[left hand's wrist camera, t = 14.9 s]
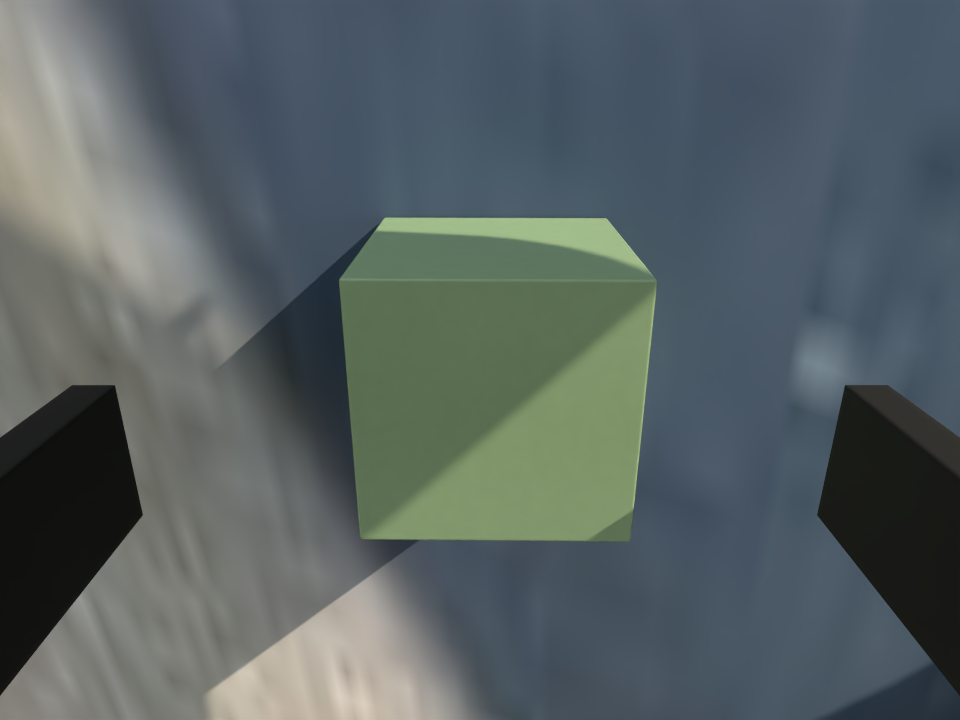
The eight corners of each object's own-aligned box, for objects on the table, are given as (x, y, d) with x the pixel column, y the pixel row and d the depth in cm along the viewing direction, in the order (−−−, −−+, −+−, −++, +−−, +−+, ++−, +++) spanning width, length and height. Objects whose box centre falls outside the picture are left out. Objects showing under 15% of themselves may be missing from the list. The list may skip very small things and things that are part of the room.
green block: (383, 217, 17) (337, 278, 12) (607, 218, 17) (658, 279, 12) (394, 415, 19) (359, 540, 14) (593, 417, 19) (630, 543, 14)
